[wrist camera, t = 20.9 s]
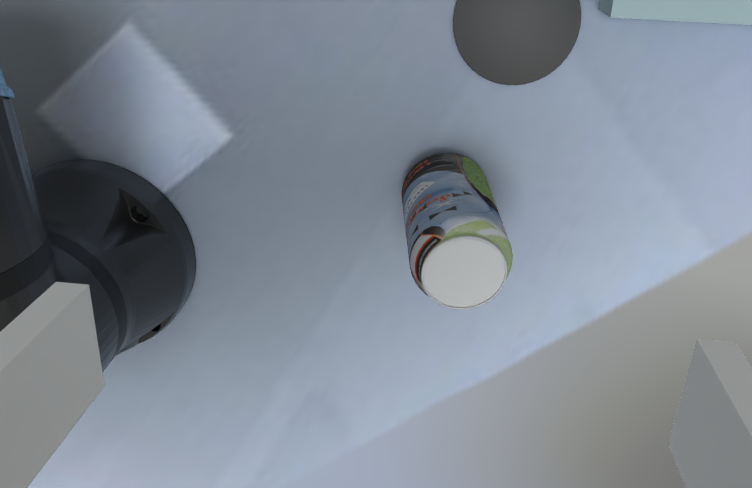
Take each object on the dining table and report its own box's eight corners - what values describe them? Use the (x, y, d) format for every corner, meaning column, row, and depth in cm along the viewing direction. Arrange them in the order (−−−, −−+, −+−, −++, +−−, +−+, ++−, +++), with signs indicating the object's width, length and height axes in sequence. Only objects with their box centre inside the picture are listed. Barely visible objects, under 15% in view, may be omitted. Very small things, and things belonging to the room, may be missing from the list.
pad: (448, 80, 47) (448, 81, 47) (458, -49, 44) (458, -49, 43) (569, 87, 46) (570, 88, 46) (590, -43, 43) (590, -43, 43)
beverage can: (425, 133, 49) (414, 194, 38) (520, 176, 49) (536, 249, 38) (388, 208, 51) (369, 286, 41) (479, 249, 52) (483, 336, 41)
